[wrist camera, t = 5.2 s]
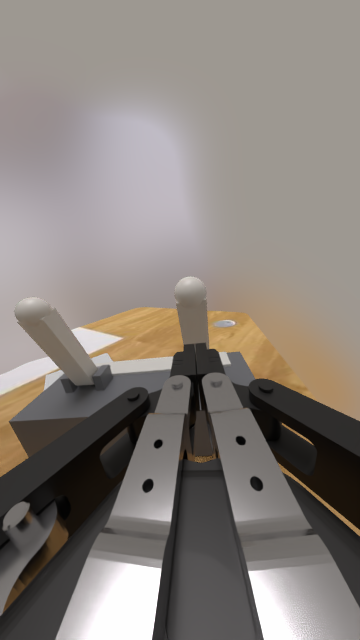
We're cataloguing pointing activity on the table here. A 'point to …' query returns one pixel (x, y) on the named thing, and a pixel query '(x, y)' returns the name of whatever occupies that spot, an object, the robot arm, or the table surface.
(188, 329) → the marked lever
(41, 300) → the unmarked lever
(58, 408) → the switch unit
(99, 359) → the external hard drive
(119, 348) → the table surface
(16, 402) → the table surface
